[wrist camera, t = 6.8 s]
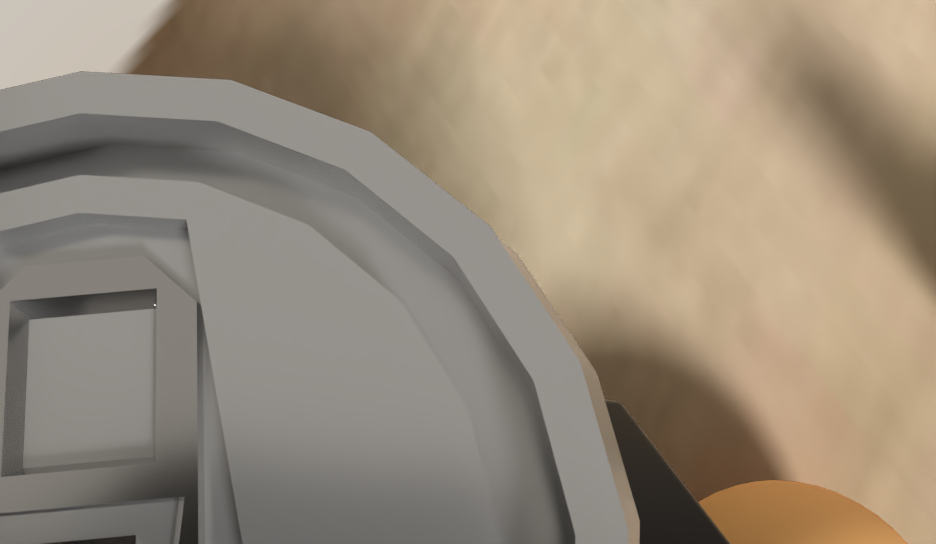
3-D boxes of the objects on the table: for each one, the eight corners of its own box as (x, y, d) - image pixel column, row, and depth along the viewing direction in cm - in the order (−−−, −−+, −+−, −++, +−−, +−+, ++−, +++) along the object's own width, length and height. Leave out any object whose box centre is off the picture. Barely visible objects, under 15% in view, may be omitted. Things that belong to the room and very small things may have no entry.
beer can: (226, 384, 16) (-442, 74, 4) (514, 358, 16) (603, -14, 4) (230, 700, 15) (-726, 1459, 3) (546, 671, 15) (793, 1308, 3)
